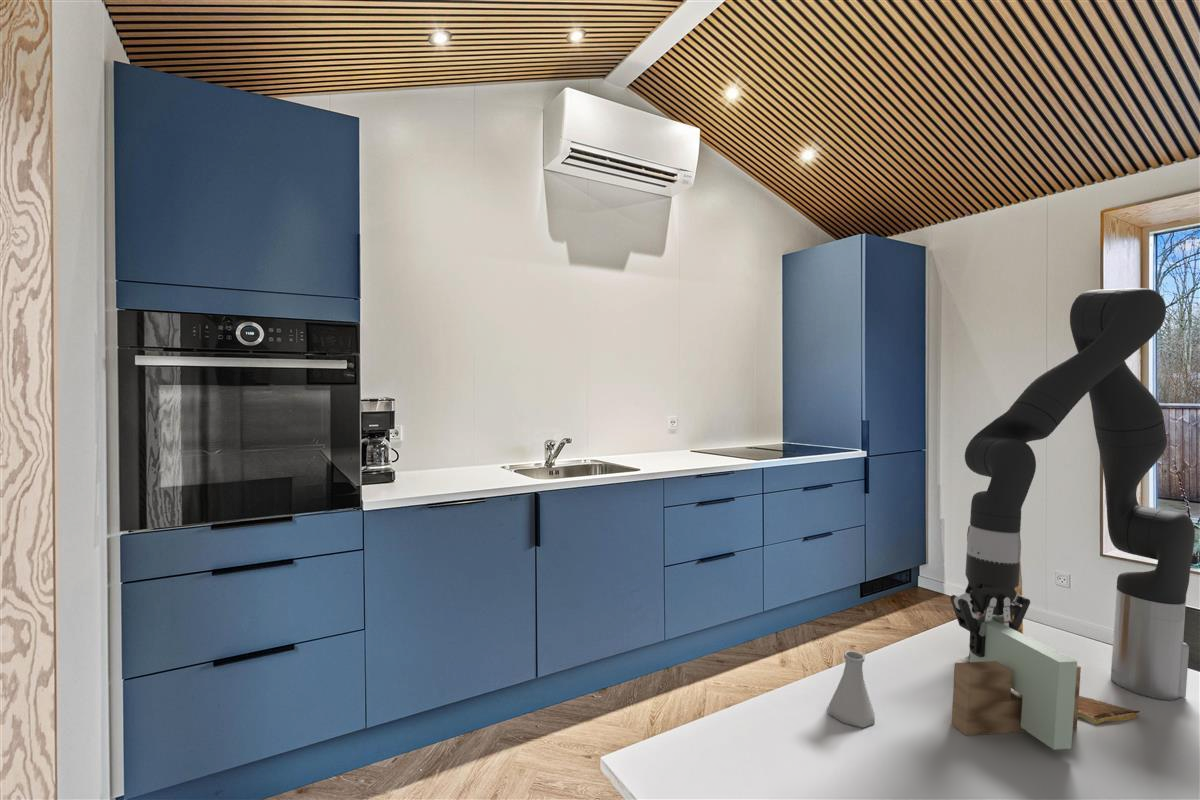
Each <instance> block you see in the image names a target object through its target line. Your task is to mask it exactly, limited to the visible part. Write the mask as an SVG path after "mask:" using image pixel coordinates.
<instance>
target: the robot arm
mask: <svg viewBox="0 0 1200 800" xmlns="http://www.w3.org/2000/svg"><path fill="white" fill-rule="evenodd" d="M1069 311H1070V312H1069V327H1070V332H1071V335H1072V339H1073V342H1074V345H1075V347H1076V352H1077V353H1076V354H1074V355H1073V356H1072V357H1070V358H1068V359H1067V360H1065V361H1063V362H1061V363H1059V364H1058V365H1056V366H1054V367H1053V368H1051V369H1048V370H1047V371H1046V372H1044V373H1042V374H1041V375H1040V376H1038V377H1037V378H1035V379H1034V380H1033V381H1032V382H1031V383H1030V384H1029V385H1028V386H1027V387H1026V388H1025V389H1024V390H1023V391H1022V392H1021V394H1020V395H1019V396H1018V397H1017V399H1016V400H1015V401H1014V402H1013V404H1012V405H1011V406H1010V407H1009V409H1008V410H1007V411H1006V412H1004V413H1003V414H1001V415H1000V416H998V417H996V418H995V419H994V420H992V422H990V423H988V425H985V427H983V428H982V429H981V430H980V431H978V432H977V433H976V434H975V435H974V436H973V437H972V438H971V440H970V441H969V442H968V444H967V445H966V449H965V452H964V462H965V463H966V466H967V468H968V469H969V470H970V471H972V472H973V473H975V474H977V475H979V476H984V477H989V478H990V482H989V485H988V487H987V490H983V491H978V492H976V493H974V494H973V496H972V498H971V504H970V506H971V507H970V519H969V520H970V521H969V525H970V528H969V533H968V539H967V538H966V557H965V558H966V559H965V574H964V575H965V576H966V580H967V582H968V584H967V586H966V588H965V590H964V593H962V594H960V595H956V594H952V595H951V596H950V602H951V605H952V608H953V611H954V614H955V616H956V619H957V623H958V625H959V626H960V627H961V628H963V629H965V630H966V631H968V632H969V646H968V647H969V651H970V650H971V652H972V653H973V654H975V655H976V656H978V657H984V656H985V640H986V636H984V635H985V634H986V629H987V624H988V623H991V619H994V620H996V621H998V622H1000V623H1001V624H1004V625H1006V626H1008V627H1010V628H1012V629H1014V630H1016V631H1018V629H1019V627H1020V625H1021V623H1022V620H1024V619H1025V616H1026V613H1027V611H1028V609H1029V607H1030V605H1031V600H1030V599H1029V598H1028V597H1025V596H1023V595H1022V596H1021V595H1018V594H1016V591H1015V588H1016V587H1018V585H1019V575H1020V562H1021V558H1022V557H1021V555H1022V554H1021V553H1022V539H1021V527H1022V526H1021V525H1022V507H1023V505H1024V502H1025V500H1026V498H1027V497H1028V492H1029V490H1030V487H1031V485H1032V482H1033V480H1034V477H1035V474H1036V470H1037V461H1036V456H1035V453H1034V450H1033V449H1032V447H1031V446H1030V445H1029V444H1028V443H1029V442H1035V441H1038V440H1043V439H1046V438H1047V437H1049V436H1050V435H1051V434H1053V432H1054V431H1055V430H1056V429H1057V428H1058V426H1059V425H1060V424H1061V423H1062V421H1064V419H1065V418H1066V417H1067V416H1068V414H1069V413H1070V412H1071V411H1072V410H1073V408H1074V407H1076V405H1077V404H1078V403H1079V402H1080V401H1081V400H1082V399H1083V398H1084V397H1085V395H1087V394H1088V397H1089V400H1090V404H1091V410H1092V419H1093V426H1094V431H1095V437H1096V443H1097V446H1098V450H1099V456H1100V460H1101V466H1102V471H1103V477H1104V488H1105V500H1106V501H1105V502H1106V503H1105V504H1106V522H1107V530H1108V531H1107V532H1108V535H1109V539H1110V541H1111V543H1112V545H1113V547H1114V548H1115V549H1117V550H1118V551H1120V552H1123V553H1127V554H1130V555H1133V556H1138V557H1142V558H1148V559H1152V560H1156V561H1157V563H1156V567H1155V569H1153V570H1148V571H1127V572H1121V573H1119V574H1118V576H1117V579H1116V594H1115V607H1114V608H1115V609H1114V624H1113V626H1114V627H1113V637H1112V638H1113V640H1112V650H1111V651H1112V653H1111V654H1112V655H1111V667H1110V679H1111V680H1112V681H1113V682H1114V683H1115V684H1116V685H1118V686H1120V687H1121V688H1124V689H1126V690H1128V691H1131V692H1133V693H1136V694H1138V695H1141V696H1146V697H1149V698H1153V699H1158V700H1165V701H1166V700H1168V701H1170V700H1172V701H1173V700H1178V699H1179V698H1186V696H1187V680H1188V679H1187V678H1188V667H1189V654H1190V646H1189V644H1188V643H1186V642H1184V631H1185V620H1186V619H1185V617H1186V615H1185V614H1186V602H1187V593H1188V590H1189V589H1188V588H1189V584H1190V575H1191V566H1192V559H1193V553H1194V548H1195V539H1196V529H1195V523H1193V522H1194V521H1193V519H1191V517H1190V516H1189V515H1187V514H1185V513H1183V512H1178V511H1173V510H1169V509H1168V510H1167V509H1161V508H1156V507H1149V506H1144V505H1143V506H1142V505H1140V504H1139V502H1138V500H1137V499H1138V497H1137V496H1138V495H1137V491H1138V486H1139V485H1140V482H1141V481H1142V480H1143V478H1144V477H1145V476H1146V474H1147V473H1148V472H1149V471H1150V470H1151V469H1152V468H1153V466H1155V464H1156V463H1157V462H1158V461H1159V460H1160V458H1161V457H1162V456H1163V454H1164V452H1166V451H1165V450H1166V448H1167V446H1168V445H1167V444H1168V438H1167V430H1166V424H1165V423H1166V422H1165V419H1164V418H1165V417H1164V413H1163V410H1162V407H1161V405H1160V403H1159V402H1158V401H1157V399H1156V397H1155V396H1154V395H1153V394H1152V393H1151V392H1150V390H1149V389H1148V388H1147V387H1146V385H1144V384H1143V382H1142V381H1141V380H1140V379H1139V378H1138V377H1137V376H1136V375H1135V374H1134V372H1133V371H1132V370H1131V368H1130V367H1129V366H1128V365H1127V363H1126V360H1128V358H1130V357H1131V356H1132V355H1134V354H1135V353H1136V352H1137V351H1138V350H1139V349H1141V348H1142V347H1143V346H1144V345H1145V344H1147V342H1149V341H1150V340H1151V339H1152V338H1153V337H1154V336H1155V335H1156V334H1157V332H1158V331H1159V330H1160V328H1161V327H1162V326H1163V324H1164V321H1165V319H1166V315H1167V313H1166V312H1167V306H1166V302H1165V299H1164V298H1163V296H1162V295H1161V294H1160V293H1159V292H1157V291H1156V290H1153V289H1151V288H1147V287H1145V288H1144V287H1126V288H1124V287H1122V288H1121V287H1120V288H1105V289H1104V288H1103V289H1101V288H1100V289H1092V290H1086V291H1083V292H1082V293H1080V294H1079V295H1078V296H1077V297H1076V298H1075V299H1074V301H1073V303H1072V304H1071V307H1070V310H1069ZM978 612H980V613H982V614H983V615H981V614H979V613H978ZM1013 615H1014V616H1015V617H1014V619H1013V621H1012V622H1010V621H1011V618H1012V616H1013ZM978 620H979V626H977V621H978Z"/></svg>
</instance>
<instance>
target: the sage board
mask: <svg viewBox="0 0 1200 800" xmlns="http://www.w3.org/2000/svg"><path fill="white" fill-rule="evenodd" d="M977 626H979V620H978V621H977ZM984 636H986V640H985V656H984V657H978V656H976V655H975V654H973V653H972V652H971V650H970V649H969V652H970V659H969V660H968V661H969V662H985V661H997V662H999V663H1000V664H1002V665H1004V666H1006V667H1007V668H1009V669H1011V670H1012V682H1011V690H1015V691H1016V692H1018V693H1020V694H1021V695H1023V698H1022V714H1021V727H1022V728H1023V729H1024V730H1026V731H1027V732H1026V733H1029V734H1030V735H1031V736H1033V737H1034V738H1036V739H1038V740H1039V741H1040V742H1042V743H1043V744H1045V745H1046V746H1048V747H1049V748H1051V750H1067V749H1072V746H1073V731H1074V730H1073V717H1074V702H1075V687H1076V672H1077V665H1078V661H1077V660H1075V659H1073V658H1071V657H1070V656H1068V655H1065V654H1064V653H1061V652H1060V651H1058V650H1055V649H1053V648H1052V647H1049V646H1047V645H1045V643H1044V644H1043V643H1042V642H1040V641H1037V640H1035V639H1034V638H1032V637H1029V636H1028V635H1027V634H1024V633H1023V634H1022V633H1020V632H1018V631H1016V630H1014V629H1012V628H1010V627H1008V626H1006V625H1004V624H1001V623H1000V622H998V621H996V620H994V619H991V623H988V624H987V629H986V634H985V635H984Z"/></svg>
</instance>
